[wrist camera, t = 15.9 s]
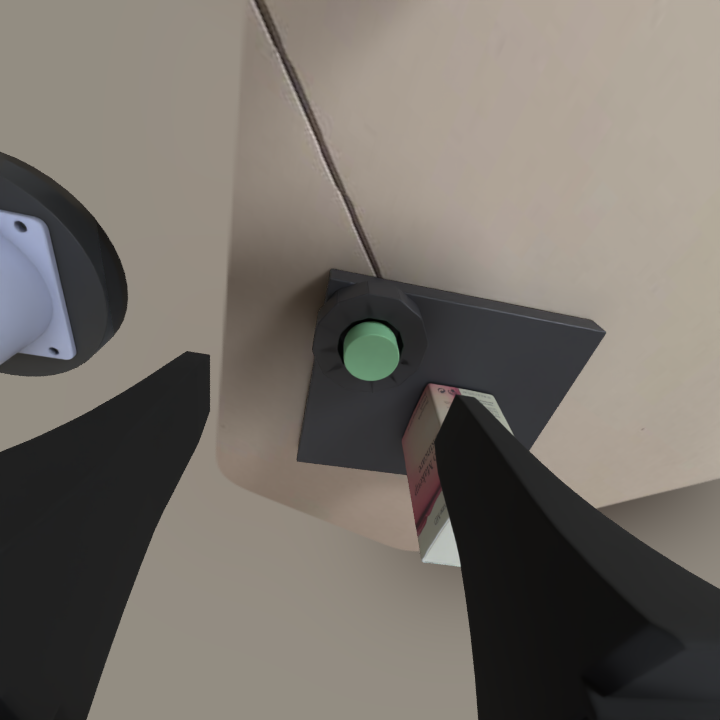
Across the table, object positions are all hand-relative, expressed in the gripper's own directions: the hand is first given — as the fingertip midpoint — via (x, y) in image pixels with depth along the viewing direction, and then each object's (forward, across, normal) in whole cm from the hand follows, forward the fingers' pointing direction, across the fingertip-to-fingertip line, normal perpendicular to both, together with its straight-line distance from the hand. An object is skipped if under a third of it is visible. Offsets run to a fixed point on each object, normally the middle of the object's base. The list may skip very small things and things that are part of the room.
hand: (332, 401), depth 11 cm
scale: (+10, -7, +6) cm, 14 cm away
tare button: (+7, -2, +2) cm, 8 cm away
